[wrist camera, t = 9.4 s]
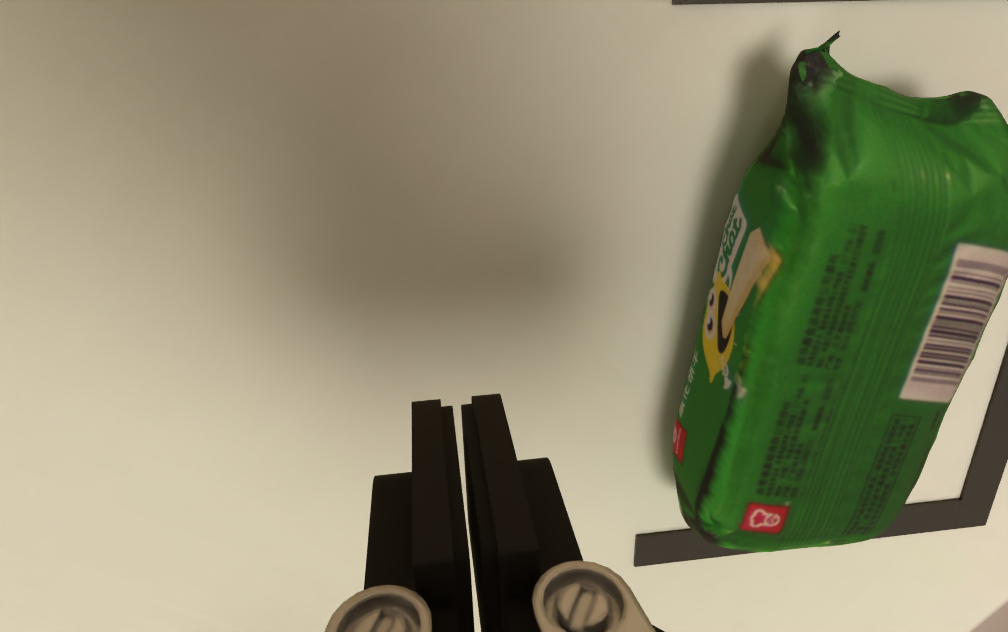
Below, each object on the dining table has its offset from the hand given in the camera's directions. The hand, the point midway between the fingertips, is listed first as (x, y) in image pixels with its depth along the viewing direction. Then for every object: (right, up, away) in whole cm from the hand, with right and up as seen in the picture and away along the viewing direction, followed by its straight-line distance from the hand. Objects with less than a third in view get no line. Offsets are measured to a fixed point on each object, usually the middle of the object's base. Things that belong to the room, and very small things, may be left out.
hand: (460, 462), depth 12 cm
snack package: (+10, +3, +9) cm, 14 cm away
